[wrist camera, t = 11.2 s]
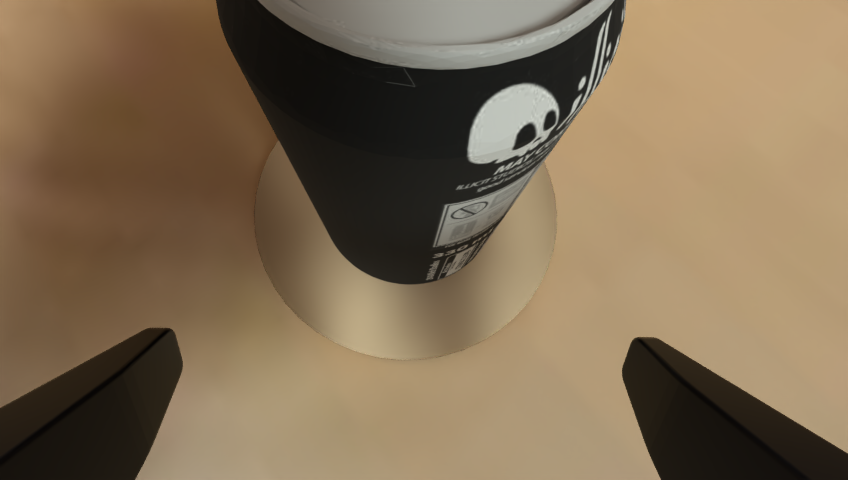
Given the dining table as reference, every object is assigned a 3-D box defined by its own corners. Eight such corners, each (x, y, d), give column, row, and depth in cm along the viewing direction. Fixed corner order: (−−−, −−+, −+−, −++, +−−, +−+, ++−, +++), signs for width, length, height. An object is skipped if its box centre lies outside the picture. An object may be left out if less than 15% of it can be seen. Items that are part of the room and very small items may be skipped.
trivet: (333, 420, 15) (330, 423, 14) (218, 149, 18) (210, 139, 17) (604, 273, 17) (614, 269, 17) (464, 51, 20) (467, 39, 19)
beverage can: (328, 133, 18) (193, -307, 6) (484, 133, 18) (637, -278, 6) (322, 290, 16) (116, 86, 4) (498, 286, 16) (743, 90, 5)
